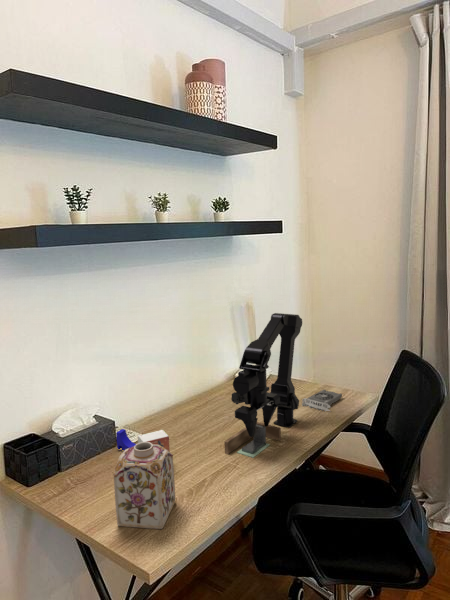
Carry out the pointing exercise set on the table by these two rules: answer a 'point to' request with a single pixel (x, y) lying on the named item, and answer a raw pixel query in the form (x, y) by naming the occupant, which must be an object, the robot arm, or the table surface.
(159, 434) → the small box
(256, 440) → the angle bracket
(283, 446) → the table surface
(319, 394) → the graphics card
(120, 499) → the decorative jar
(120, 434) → the blue saddle bracket
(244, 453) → the mat
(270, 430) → the corner walls
